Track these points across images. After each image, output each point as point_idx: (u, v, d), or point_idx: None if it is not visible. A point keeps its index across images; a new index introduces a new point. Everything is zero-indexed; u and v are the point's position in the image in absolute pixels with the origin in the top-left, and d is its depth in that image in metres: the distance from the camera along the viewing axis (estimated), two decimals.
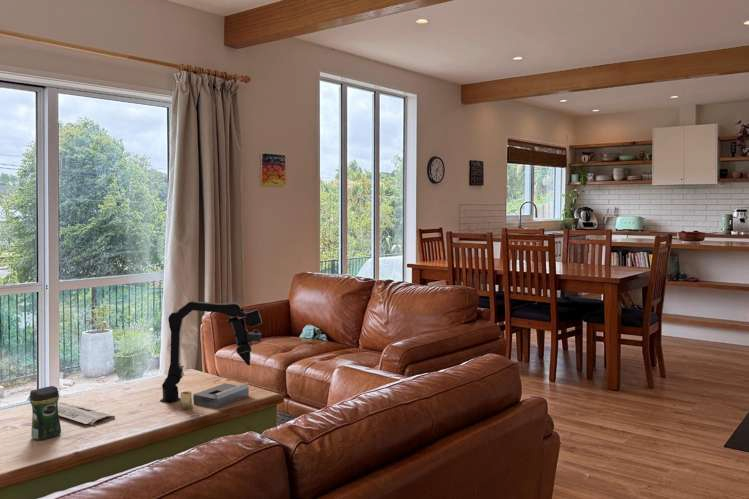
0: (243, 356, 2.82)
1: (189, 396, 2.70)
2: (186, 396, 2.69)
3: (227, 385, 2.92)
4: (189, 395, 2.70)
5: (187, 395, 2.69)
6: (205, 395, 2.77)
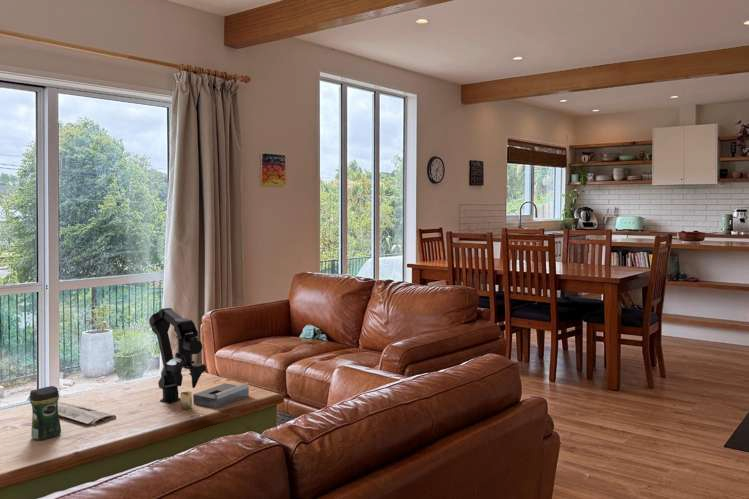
0: None
1: (189, 396, 2.70)
2: (186, 396, 2.69)
3: (227, 385, 2.92)
4: (189, 395, 2.70)
5: (187, 395, 2.69)
6: (205, 395, 2.77)
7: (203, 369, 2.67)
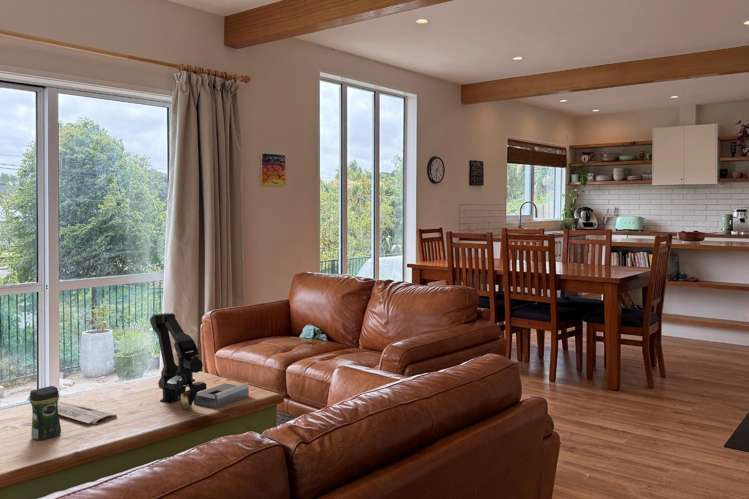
0: None
1: None
2: (186, 396, 2.69)
3: (227, 385, 2.92)
4: None
5: (187, 395, 2.69)
6: (205, 395, 2.77)
7: (203, 387, 2.67)
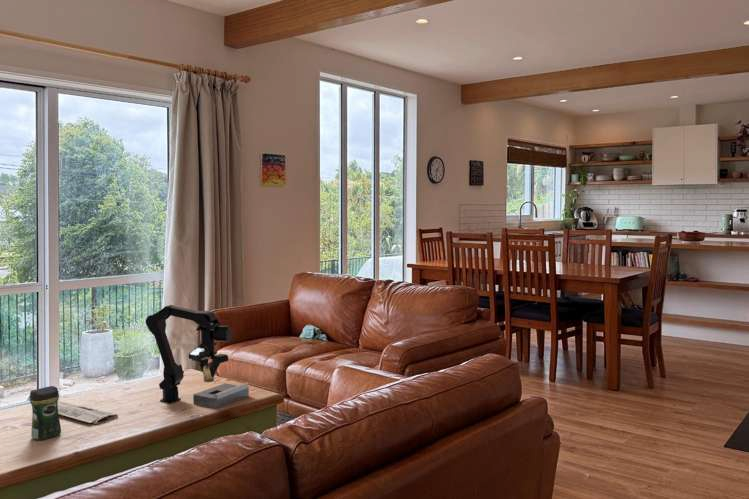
0: None
1: None
2: (208, 368, 2.76)
3: (227, 385, 2.92)
4: None
5: (209, 367, 2.76)
6: (205, 395, 2.77)
7: (225, 359, 2.73)
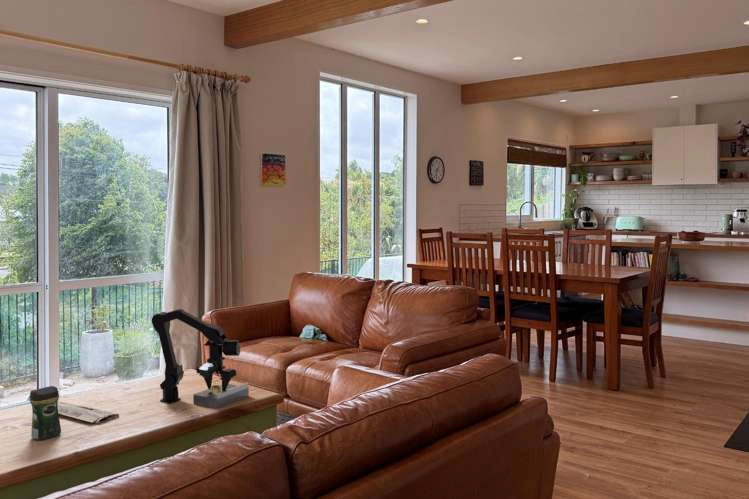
0: None
1: (219, 389, 2.80)
2: (217, 389, 2.79)
3: None
4: (219, 388, 2.80)
5: (218, 388, 2.79)
6: (205, 395, 2.77)
7: (234, 374, 2.77)
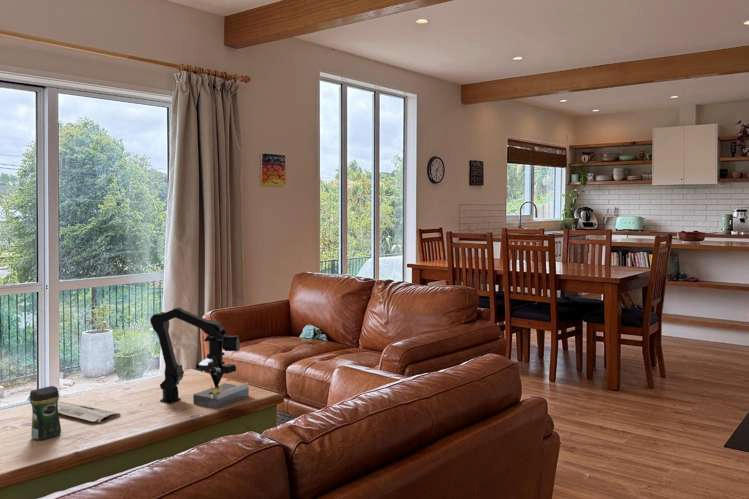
0: None
1: (220, 389, 2.80)
2: (217, 389, 2.79)
3: (227, 385, 2.92)
4: (220, 388, 2.80)
5: (218, 388, 2.79)
6: (205, 395, 2.77)
7: (233, 369, 2.77)
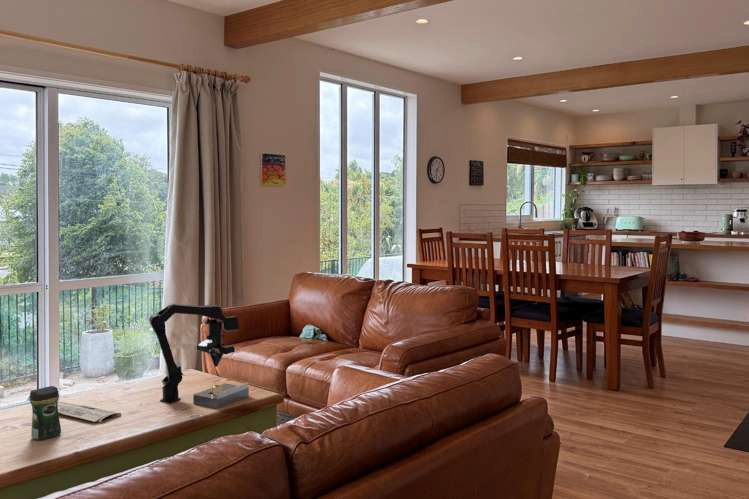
0: None
1: (220, 389, 2.80)
2: (217, 389, 2.79)
3: (227, 385, 2.92)
4: (220, 388, 2.80)
5: (218, 388, 2.79)
6: (205, 395, 2.77)
7: (232, 350, 2.87)
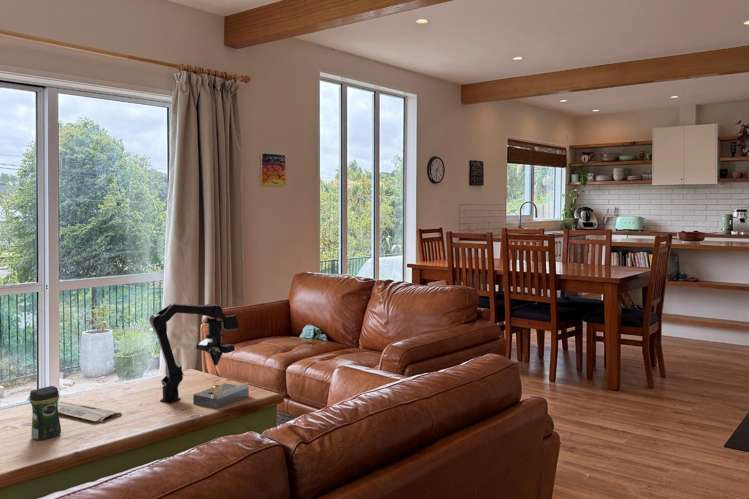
0: None
1: (220, 389, 2.80)
2: (217, 389, 2.79)
3: (227, 385, 2.92)
4: (220, 388, 2.80)
5: (218, 388, 2.79)
6: (205, 395, 2.77)
7: (232, 349, 2.89)
